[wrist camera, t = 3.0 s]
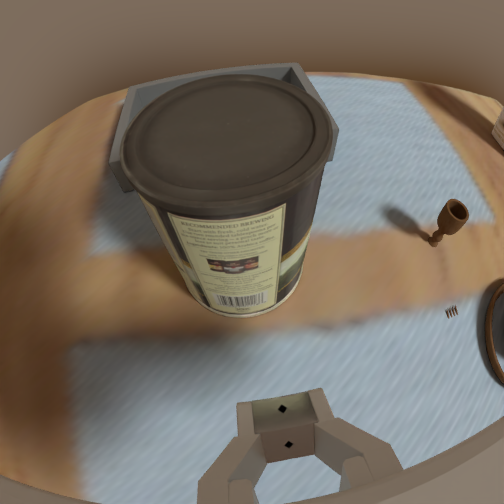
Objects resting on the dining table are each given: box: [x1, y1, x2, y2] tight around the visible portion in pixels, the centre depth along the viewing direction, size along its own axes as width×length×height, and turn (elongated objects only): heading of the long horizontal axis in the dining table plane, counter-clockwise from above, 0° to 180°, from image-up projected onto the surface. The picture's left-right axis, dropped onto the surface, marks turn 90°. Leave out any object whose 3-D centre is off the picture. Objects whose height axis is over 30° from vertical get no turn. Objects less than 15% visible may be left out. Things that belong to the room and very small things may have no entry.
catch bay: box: [109, 63, 339, 192], centre depth 32 cm, size 22×15×4 cm
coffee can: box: [119, 74, 333, 318], centre depth 20 cm, size 10×10×14 cm
